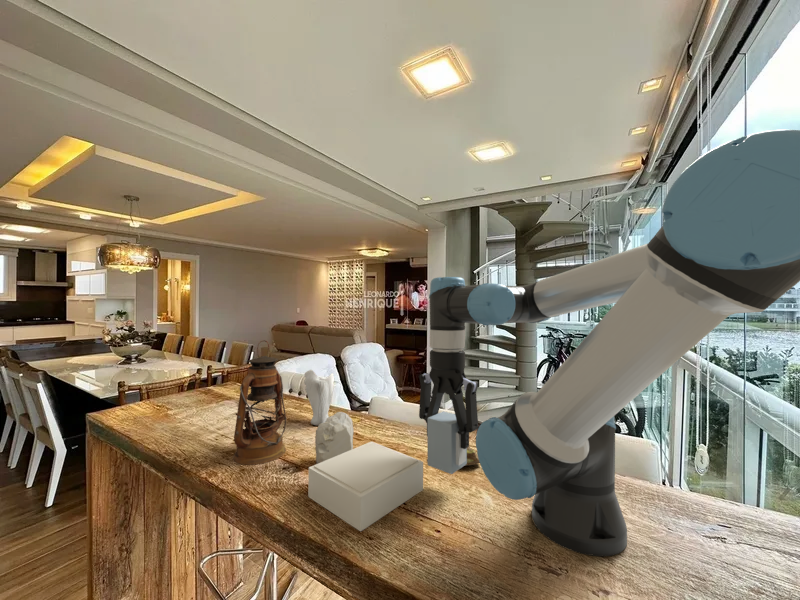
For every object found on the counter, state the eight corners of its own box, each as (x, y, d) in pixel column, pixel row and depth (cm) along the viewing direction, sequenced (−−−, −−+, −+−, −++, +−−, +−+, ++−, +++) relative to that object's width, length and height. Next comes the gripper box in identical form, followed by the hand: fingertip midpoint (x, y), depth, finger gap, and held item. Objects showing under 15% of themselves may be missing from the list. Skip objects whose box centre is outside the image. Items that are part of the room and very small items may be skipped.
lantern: (264, 438, 101) (265, 336, 101) (300, 445, 96) (301, 338, 96) (214, 462, 85) (215, 342, 85) (253, 472, 80) (255, 345, 80)
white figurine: (337, 421, 115) (337, 367, 116) (324, 429, 108) (324, 372, 108) (316, 418, 118) (316, 366, 118) (301, 426, 110) (302, 370, 111)
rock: (483, 476, 84) (474, 443, 93) (481, 456, 81) (472, 425, 90) (433, 484, 85) (429, 451, 94) (429, 464, 82) (425, 432, 91)
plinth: (423, 489, 73) (423, 460, 73) (360, 531, 60) (360, 495, 60) (371, 465, 84) (371, 440, 84) (308, 496, 70) (308, 466, 70)
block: (466, 464, 73) (466, 417, 73) (451, 474, 68) (451, 424, 69) (443, 455, 77) (443, 411, 77) (427, 465, 72) (427, 417, 72)
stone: (319, 469, 82) (319, 421, 82) (313, 460, 86) (313, 415, 86) (358, 458, 88) (358, 413, 88) (350, 451, 92) (350, 408, 92)
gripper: (496, 351, 70) (496, 465, 69) (422, 344, 82) (422, 440, 82) (478, 355, 64) (478, 479, 64) (402, 347, 76) (402, 450, 76)
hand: (447, 457), depth 73 cm, fingers closed on block, 6 cm apart
